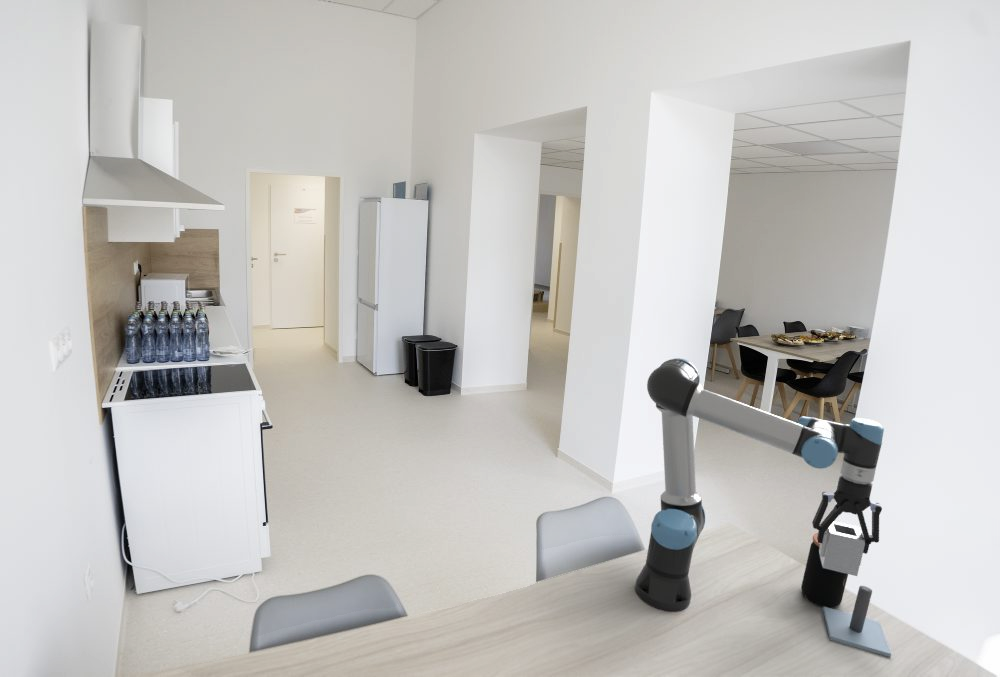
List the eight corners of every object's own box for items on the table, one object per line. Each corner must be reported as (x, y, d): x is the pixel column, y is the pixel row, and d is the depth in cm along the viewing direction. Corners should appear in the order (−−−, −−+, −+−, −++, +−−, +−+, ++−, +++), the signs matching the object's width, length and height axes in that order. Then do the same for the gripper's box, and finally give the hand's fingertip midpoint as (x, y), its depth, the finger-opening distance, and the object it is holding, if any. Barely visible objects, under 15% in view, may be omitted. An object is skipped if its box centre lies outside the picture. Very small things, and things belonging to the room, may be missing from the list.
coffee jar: (845, 613, 176) (860, 555, 172) (805, 604, 178) (818, 547, 174) (833, 591, 186) (847, 536, 182) (796, 583, 188) (808, 529, 184)
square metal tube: (822, 567, 163) (830, 532, 161) (819, 553, 170) (826, 519, 168) (857, 576, 160) (865, 540, 158) (851, 561, 168) (859, 527, 166)
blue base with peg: (829, 639, 163) (840, 595, 161) (822, 609, 176) (832, 568, 173) (890, 657, 159) (902, 612, 156) (878, 625, 172) (889, 583, 169)
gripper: (813, 474, 161) (797, 554, 165) (906, 493, 154) (886, 576, 158) (810, 464, 167) (795, 541, 172) (899, 482, 160) (880, 562, 165)
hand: (839, 558), depth 165 cm, fingers closed on square metal tube, 8 cm apart
